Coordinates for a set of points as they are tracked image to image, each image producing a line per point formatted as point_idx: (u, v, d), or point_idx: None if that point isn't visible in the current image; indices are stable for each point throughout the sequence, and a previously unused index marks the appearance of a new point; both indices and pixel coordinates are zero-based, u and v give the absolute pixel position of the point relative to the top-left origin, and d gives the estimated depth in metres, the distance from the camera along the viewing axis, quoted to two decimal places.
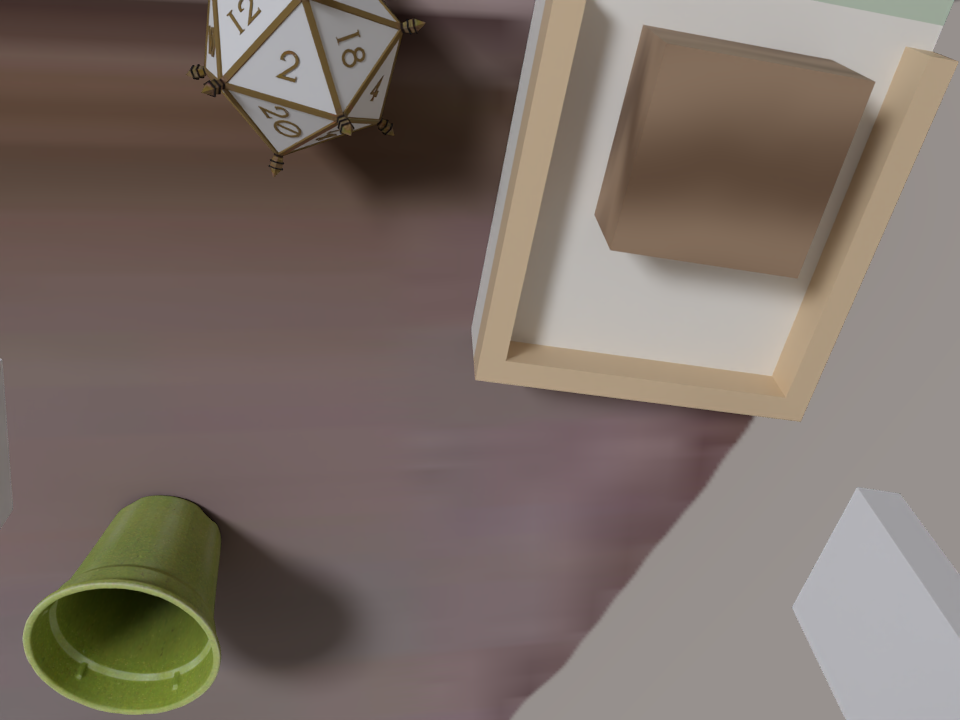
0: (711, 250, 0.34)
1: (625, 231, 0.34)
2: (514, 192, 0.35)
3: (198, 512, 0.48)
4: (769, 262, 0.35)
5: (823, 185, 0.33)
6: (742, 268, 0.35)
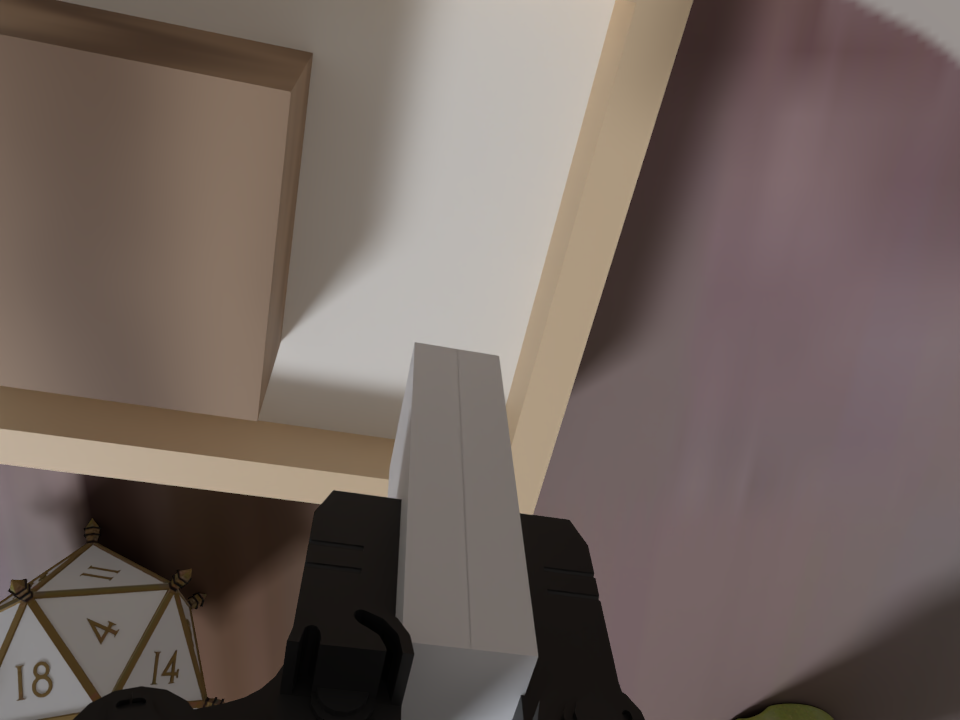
0: (242, 265, 0.19)
1: (221, 402, 0.20)
2: (218, 489, 0.24)
3: None
4: (258, 155, 0.18)
5: (81, 73, 0.17)
6: (275, 205, 0.18)
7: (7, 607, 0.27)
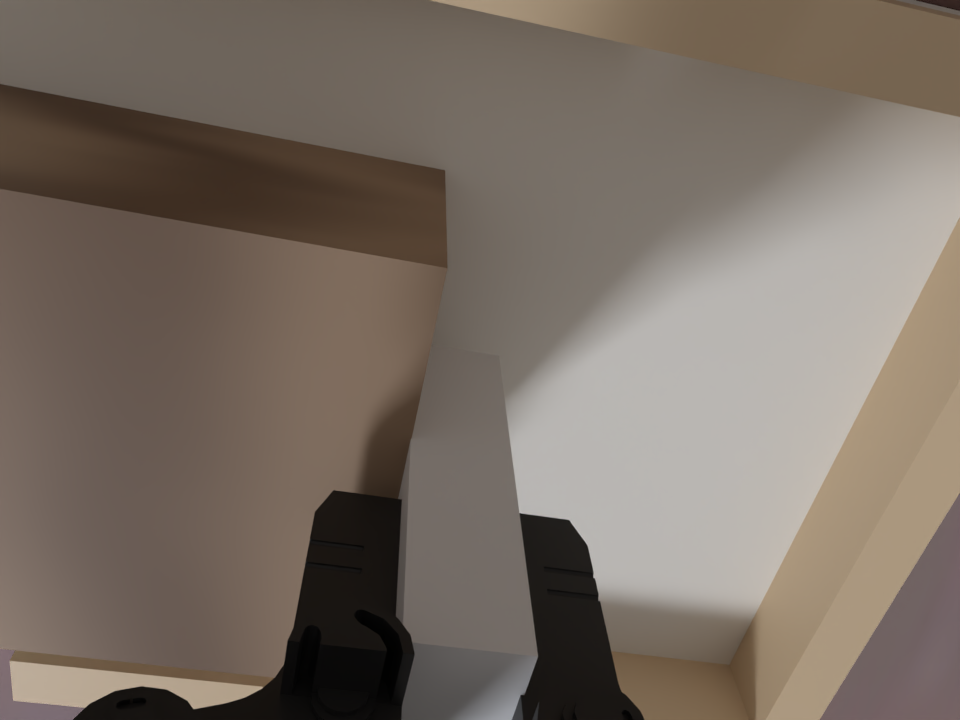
0: None
1: None
2: None
3: None
4: (390, 356, 0.11)
5: (124, 244, 0.11)
6: (409, 421, 0.12)
7: None
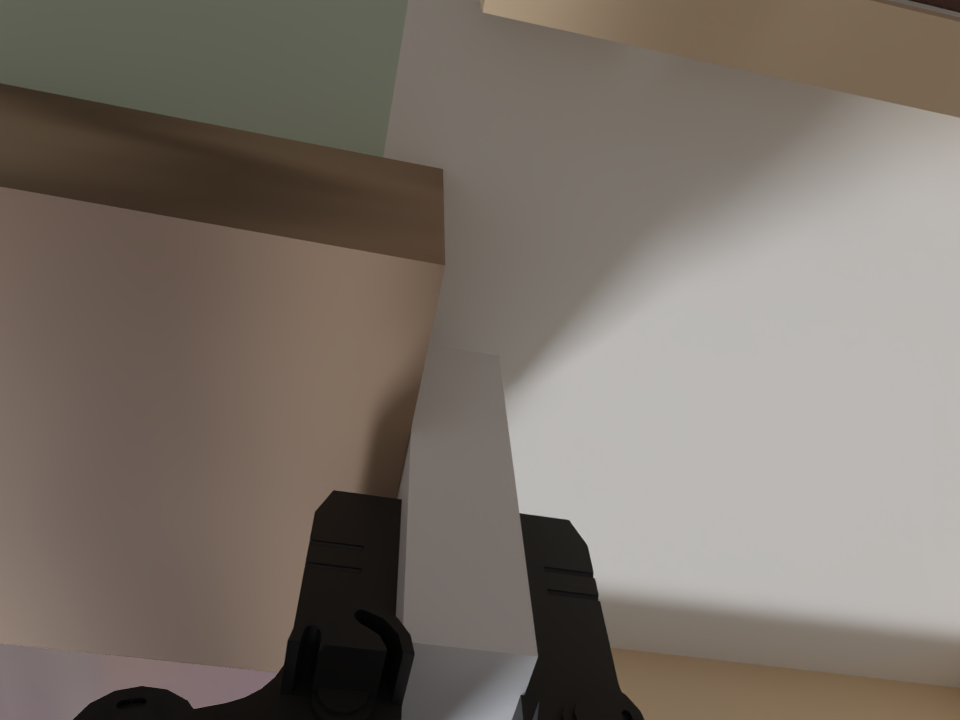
0: None
1: None
2: None
3: None
4: (388, 352, 0.12)
5: (125, 242, 0.11)
6: (408, 417, 0.12)
7: None
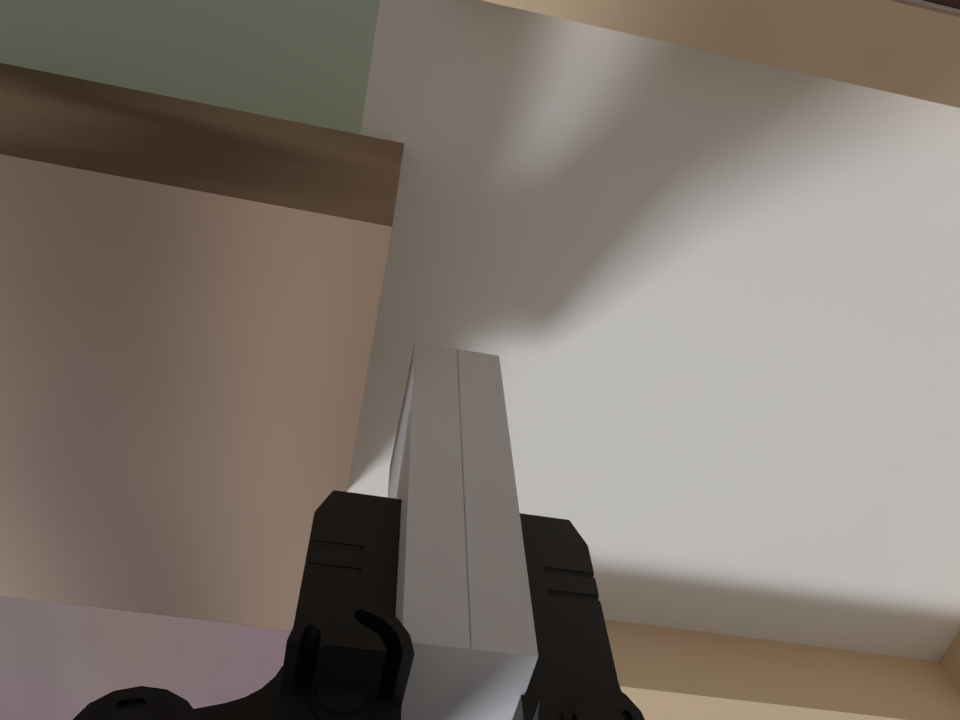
0: (311, 450, 0.13)
1: (275, 612, 0.15)
2: None
3: None
4: (341, 311, 0.12)
5: (90, 202, 0.11)
6: (361, 374, 0.13)
7: None
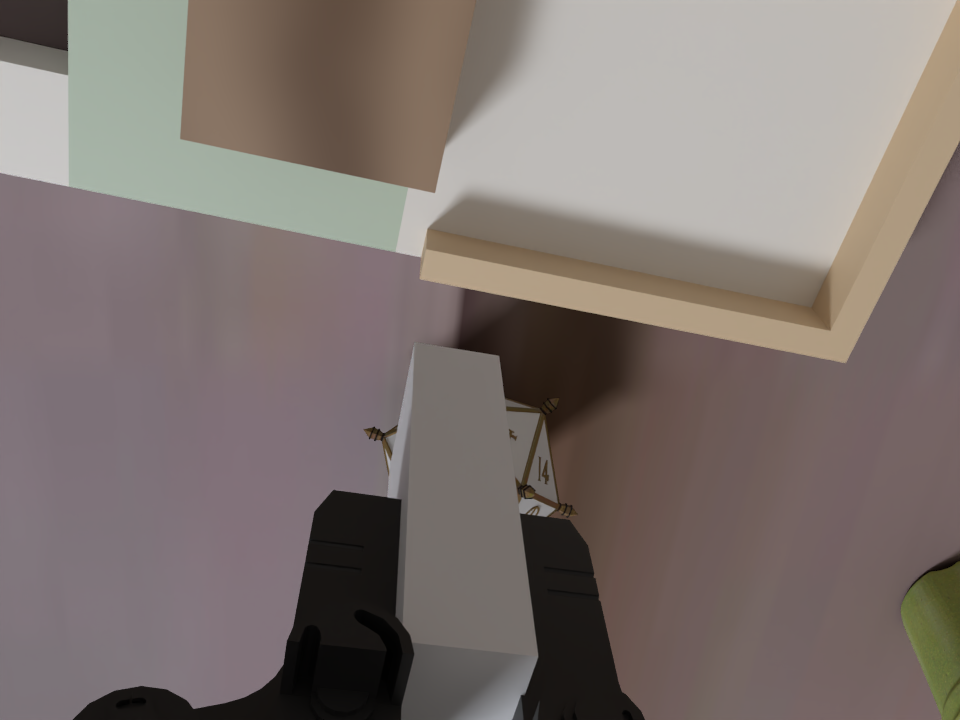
0: (441, 60, 0.25)
1: (410, 175, 0.27)
2: (626, 318, 0.32)
3: (936, 577, 0.46)
4: None
5: None
6: (471, 11, 0.25)
7: None
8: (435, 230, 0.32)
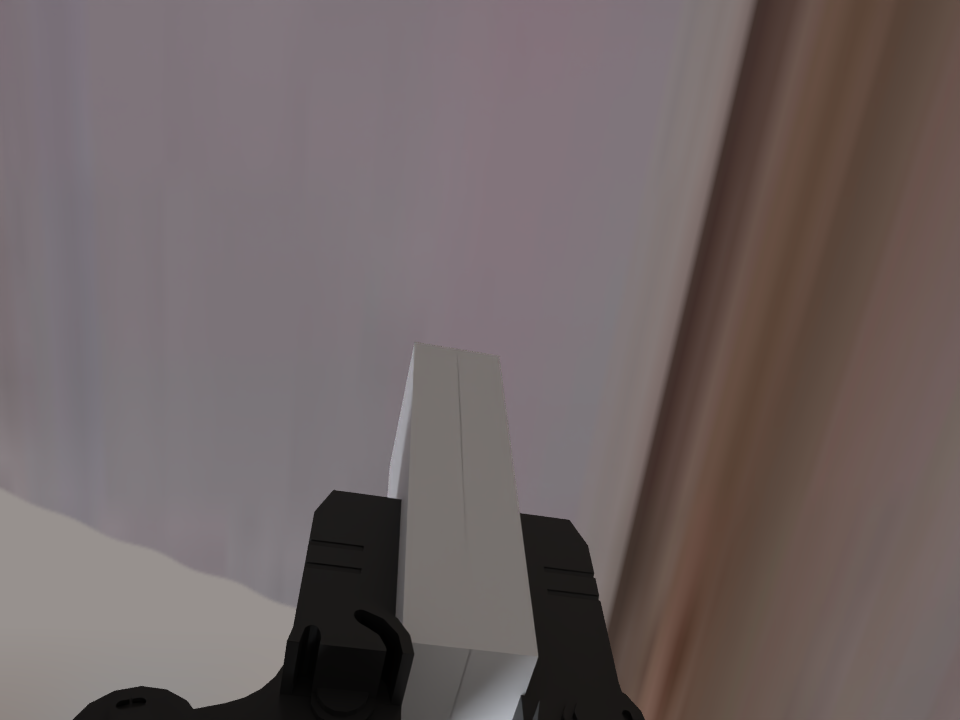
0: None
1: None
2: None
3: None
4: None
5: None
6: None
7: None
8: None
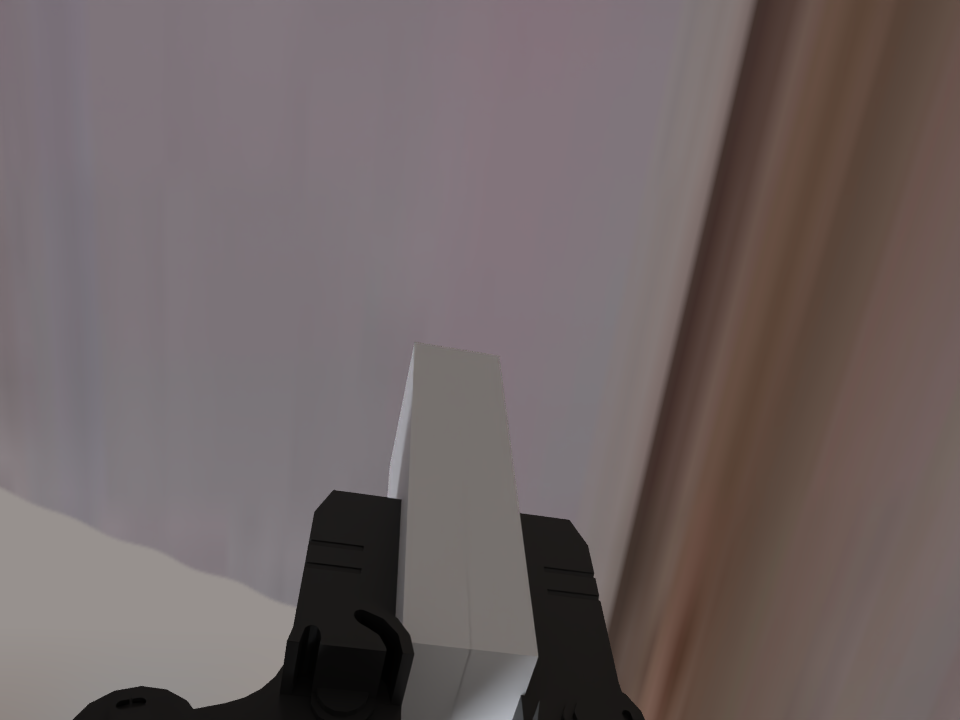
0: None
1: None
2: None
3: None
4: None
5: None
6: None
7: None
8: None
